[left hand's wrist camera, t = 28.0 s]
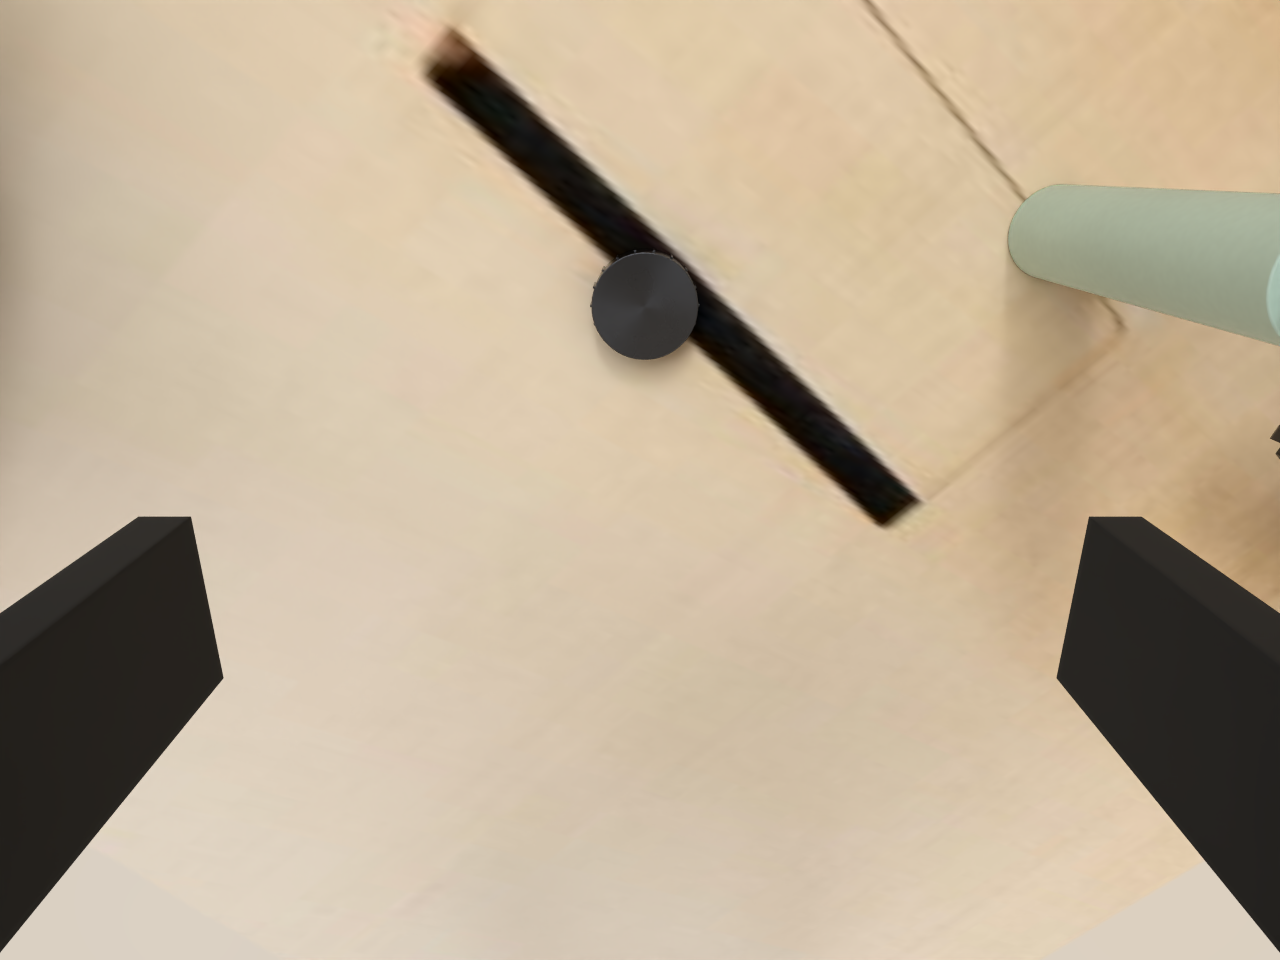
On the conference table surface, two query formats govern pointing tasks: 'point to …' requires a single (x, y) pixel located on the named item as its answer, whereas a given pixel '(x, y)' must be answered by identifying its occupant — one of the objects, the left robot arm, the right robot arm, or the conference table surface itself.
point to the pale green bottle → (1160, 251)
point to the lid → (644, 304)
